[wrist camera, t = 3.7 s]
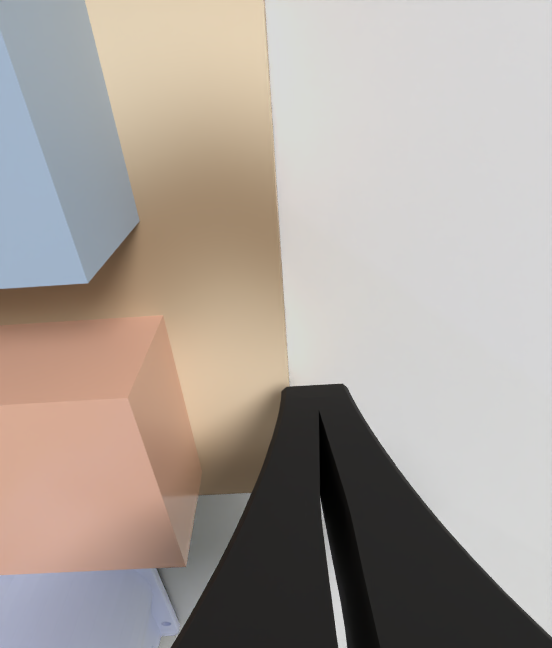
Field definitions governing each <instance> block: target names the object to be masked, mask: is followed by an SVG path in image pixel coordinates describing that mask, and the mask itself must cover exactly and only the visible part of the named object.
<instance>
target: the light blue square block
mask: <svg viewBox="0 0 552 648" xmlns="http://www.w3.org/2000/svg"><path fill="white" fill-rule="evenodd" d="M139 221H140V220H139V216H138V212H137V208H136V204H135V200H134V196H133V192H132V188H131V184H130V180H129V176H128V172H127V168H126V164H125V160H124V156H123V152H122V148H121V144H120V140H119V136H118V132H117V128H116V124H115V120H114V116H113V112H112V108H111V104H110V100H109V96H108V92H107V88H106V84H105V80H104V76H103V72H102V68H101V64H100V60H99V56H98V52H97V47H96V43H95V39H94V35H93V31H92V27H91V23H90V19H89V15H88V11H87V7H86V3H85V0H0V289H7V288H23V287H38V286H54V285H69V284H85V283H89V282H90V280H91V279H92V278H93V277H94V276H95V274H96V273H97V272H98V271H99V269H100V268H101V267H102V266H103V265H104V263H105V262H106V261H107V260H108V259H109V257H110V256H111V255H112V254H113V253H114V251H115V250H116V249H117V248H118V247H119V245H120V244H121V243H122V242H123V241H124V239H125V238H126V237H127V236H128V235H129V233H130V232H131V231H132V230H133V229H134V227H135V226H136V225H137V224H138V222H139Z"/></svg>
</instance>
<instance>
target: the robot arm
mask: <svg viewBox="0 0 552 648" xmlns="http://www.w3.org/2000/svg"><path fill="white" fill-rule="evenodd" d="M320 498H321V503H322V509H323V514H324V519H325V524H326V529H327V534H328V539H329V545H330V550H331V555H332V560H333V565H334V570H335V575H336V580H337V585H338V590H339V596H340V601H341V606H342V613H343V619H344V625H345V632H346V640H347V648H552V637H551V636H550V635H549V634H548V633H547V632H546V631H545V630H544V629H543V628H541V627H540V626H539V625H538V624H537V623H536V622H535V621H534V620H533V619H532V618H531V617H530V616H529V615H528V614H527V613H526V612H525V611H524V610H523V609H522V608H521V607H520V606H519V605H518V604H517V603H516V602H515V601H514V600H513V599H512V598H511V597H510V596H508V595H507V594H506V593H505V592H504V591H503V589H502V588H501V587H500V586H499V585H498V584H497V583H496V582H495V581H494V580H493V579H492V578H491V577H490V576H489V575H488V574H487V573H486V572H485V571H484V570H483V568H482V567H481V566H480V565H479V564H478V563H477V562H476V561H475V560H474V559H473V558H472V557H471V556H470V555H469V554H468V552H467V551H466V550H465V549H464V548H463V547H462V546H461V545H460V544H459V542H458V541H457V540H456V539H455V538H454V537H453V536H452V535H451V534H450V532H449V531H448V530H447V529H446V528H445V527H444V525H443V524H442V523H441V522H440V521H439V520H438V518H437V517H436V516H435V515H434V514H433V512H432V511H431V510H430V509H429V508H428V506H427V505H426V504H425V503H424V501H423V500H422V499H421V498H420V496H419V495H418V494H417V493H416V491H415V490H414V489H413V487H412V486H411V485H410V484H409V482H408V481H407V480H406V478H405V477H404V476H403V474H402V473H401V472H400V470H399V469H398V468H397V466H396V465H395V463H394V462H393V461H392V459H391V458H390V456H389V455H388V454H387V452H386V451H385V449H384V448H383V447H382V445H381V444H380V442H379V441H378V439H377V438H376V436H375V435H374V433H373V432H372V430H371V429H370V427H369V425H368V424H367V422H366V421H365V419H364V417H363V416H362V414H361V412H360V411H359V409H358V407H357V405H356V404H355V402H354V400H353V398H352V396H351V394H350V392H349V390H348V388H347V387H346V386H345V385H343V384H328V385H310V386H292V387H286V388H284V389H283V390H282V391H281V402H280V408H279V413H278V417H277V421H276V425H275V429H274V432H273V436H272V439H271V442H270V445H269V448H268V451H267V454H266V457H265V460H264V463H263V466H262V468H261V471H260V474H259V476H258V479H257V481H256V483H255V486H254V488H253V491H252V493H251V495H250V498H249V500H248V503H247V505H246V508H245V510H244V512H243V514H242V517H241V519H240V521H239V523H238V525H237V527H236V530H235V532H234V534H233V536H232V538H231V540H230V542H229V544H228V546H227V548H226V550H225V552H224V554H223V556H222V558H221V560H220V562H219V564H218V566H217V568H216V569H215V571H214V573H213V575H212V577H211V579H210V580H209V582H208V584H207V586H206V588H205V590H204V591H203V593H202V595H201V597H200V599H199V600H198V602H197V604H196V606H195V608H194V609H193V611H192V613H191V615H190V616H189V618H188V620H187V622H186V623H185V625H184V627H183V628H182V630H181V632H180V633H179V628H180V624H179V621H178V619H177V616H176V614H175V612H174V609H173V607H172V605H171V602H170V600H169V598H168V595H167V593H166V590H165V588H164V586H163V583H162V581H161V579H160V576H159V574H158V571H157V569H156V568H149V569H127V570H105V571H83V572H61V573H39V574H17V575H0V648H159V644H160V639H161V636H173V635H176V634H178V633H179V635H178V637H177V638H176V640H175V642H174V643H173V645H172V646H171V648H338V643H337V636H336V628H335V621H334V613H333V606H332V598H331V591H330V583H329V575H328V568H327V560H326V552H325V544H324V536H323V528H322V520H321V505H320Z"/></svg>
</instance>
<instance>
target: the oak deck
mask: <svg viewBox="0 0 552 648" xmlns="http://www.w3.org/2000/svg"><path fill="white" fill-rule="evenodd" d="M85 3H86V7H87V11H88V15H89V19H90V23H91V27H92V31H93V35H94V39H95V43H96V47H97V52H98V56H99V60H100V64H101V68H102V72H103V76H104V80H105V84H106V88H107V92H108V96H109V100H110V104H111V108H112V112H113V116H114V120H115V124H116V128H117V132H118V136H119V140H120V144H121V148H122V152H123V156H124V160H125V164H126V168H127V172H128V176H129V180H130V184H131V188H132V192H133V196H134V200H135V204H136V208H137V212H138V216H139V220H140V221H139V222H138V224H137V225H136V226H135V227H134V229H133V230H132V231H131V232H130V233H129V235H128V236H127V237H126V238H125V239H124V241H123V242H122V243H121V244H120V245H119V247H118V248H117V249H116V250H115V251H114V253H113V254H112V255H111V256H110V257H109V259H108V260H107V261H106V262H105V263H104V265H103V266H102V267H101V268H100V269H99V271H98V272H97V273H96V274H95V276H94V277H93V278H92V279H91V280H90V282H89V283H85V284H69V285H54V286H38V287H23V288H7V289H0V325H13V324H29V323H45V322H61V321H77V320H93V319H109V318H125V317H141V316H157V315H163V317H164V321H165V325H166V329H167V333H168V337H169V341H170V345H171V349H172V353H173V357H174V361H175V365H176V369H177V373H178V377H179V381H180V385H181V389H182V393H183V397H184V401H185V405H186V409H187V413H188V417H189V421H190V425H191V429H192V433H193V437H194V441H195V445H196V449H197V453H198V457H199V461H200V465H201V469H202V476H201V482H200V488H199V494H198V495H214V494H234V493H252V491H253V488H254V486H255V483H256V481H257V479H258V476H259V474H260V471H261V468H262V466H263V463H264V460H265V457H266V454H267V451H268V448H269V445H270V442H271V439H272V436H273V432H274V429H275V425H276V421H277V417H278V413H279V408H280V402H281V391H282V390H283V389H284V388H286V387H289V372H288V356H287V341H286V325H285V310H284V294H283V278H282V263H281V247H280V232H279V216H278V201H277V185H276V170H275V154H274V139H273V123H272V107H271V92H270V76H269V61H268V45H267V30H266V14H265V0H85Z"/></svg>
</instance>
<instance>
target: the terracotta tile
mask: <svg viewBox="0 0 552 648" xmlns="http://www.w3.org/2000/svg"><path fill="white" fill-rule="evenodd" d="M201 476H202V469H201V465H200V461H199V457H198V453H197V449H196V445H195V441H194V437H193V433H192V429H191V425H190V421H189V417H188V413H187V409H186V405H185V401H184V397H183V393H182V389H181V385H180V381H179V377H178V373H177V369H176V365H175V361H174V357H173V353H172V349H171V345H170V341H169V337H168V333H167V329H166V325H165V321H164V317H163V315H157V316H141V317H125V318H109V319H93V320H77V321H61V322H45V323H29V324H13V325H0V575H17V574H39V573H61V572H83V571H105V570H127V569H149V568H171V567H186V565H187V559H188V553H189V547H190V541H191V535H192V529H193V524H194V518H195V512H196V506H197V500H198V494H199V488H200V482H201Z"/></svg>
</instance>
